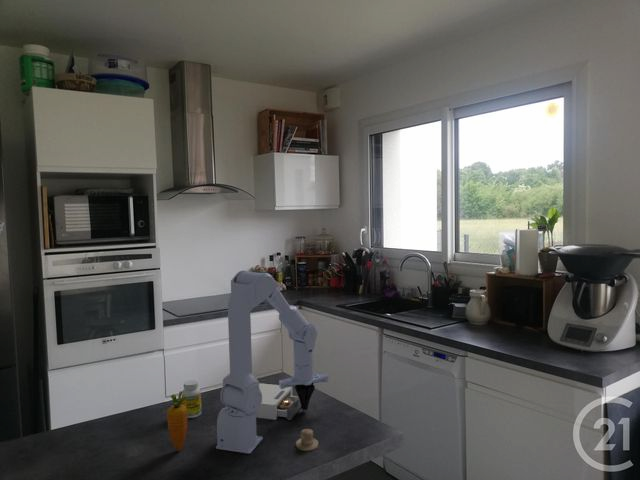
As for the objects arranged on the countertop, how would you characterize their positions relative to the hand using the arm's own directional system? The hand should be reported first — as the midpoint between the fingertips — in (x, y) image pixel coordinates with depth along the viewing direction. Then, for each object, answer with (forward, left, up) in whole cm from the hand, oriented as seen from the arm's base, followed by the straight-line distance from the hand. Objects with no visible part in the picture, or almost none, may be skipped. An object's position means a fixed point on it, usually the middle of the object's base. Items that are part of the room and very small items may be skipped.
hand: (304, 408), depth 139 cm
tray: (-9, 0, -1) cm, 9 cm away
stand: (+7, -18, -1) cm, 19 cm away
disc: (-7, 0, 0) cm, 7 cm away
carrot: (-23, -29, -1) cm, 37 cm away
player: (-13, 0, -1) cm, 13 cm away
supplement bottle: (-31, -10, -1) cm, 33 cm away
